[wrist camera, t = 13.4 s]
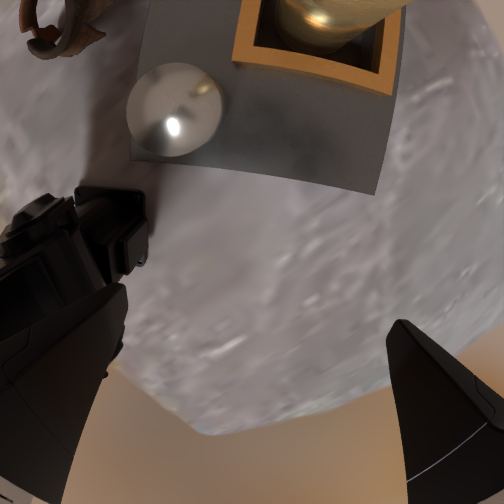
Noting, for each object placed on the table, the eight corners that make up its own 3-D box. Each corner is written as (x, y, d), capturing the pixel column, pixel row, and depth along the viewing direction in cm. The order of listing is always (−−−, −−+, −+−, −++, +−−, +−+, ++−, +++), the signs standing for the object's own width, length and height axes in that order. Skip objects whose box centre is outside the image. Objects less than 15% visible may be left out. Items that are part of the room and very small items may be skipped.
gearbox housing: (144, 154, 19) (108, 170, 14) (175, -38, 11) (152, -70, 6) (362, 185, 19) (392, 211, 15) (392, -5, 12) (426, -29, 7)
